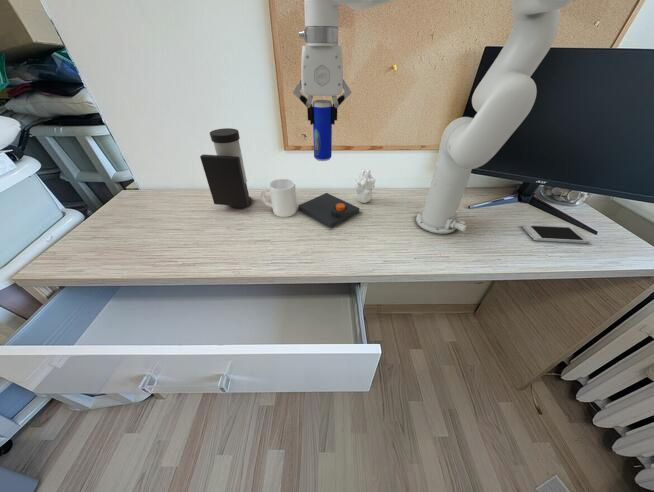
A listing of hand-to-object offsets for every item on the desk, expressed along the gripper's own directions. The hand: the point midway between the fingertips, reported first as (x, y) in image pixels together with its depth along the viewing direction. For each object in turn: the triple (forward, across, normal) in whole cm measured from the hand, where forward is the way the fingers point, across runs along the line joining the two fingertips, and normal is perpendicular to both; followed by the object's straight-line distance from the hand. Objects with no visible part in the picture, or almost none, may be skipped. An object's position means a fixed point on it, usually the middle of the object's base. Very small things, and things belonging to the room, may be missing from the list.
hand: (322, 122), depth 70 cm
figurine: (+30, +15, +9) cm, 34 cm away
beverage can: (+10, 0, 0) cm, 10 cm away
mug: (+29, -15, +2) cm, 33 cm away
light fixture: (+29, -31, +7) cm, 43 cm away
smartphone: (+30, +72, -13) cm, 79 cm away
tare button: (+26, +6, -2) cm, 27 cm away
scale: (+29, +2, +2) cm, 29 cm away
